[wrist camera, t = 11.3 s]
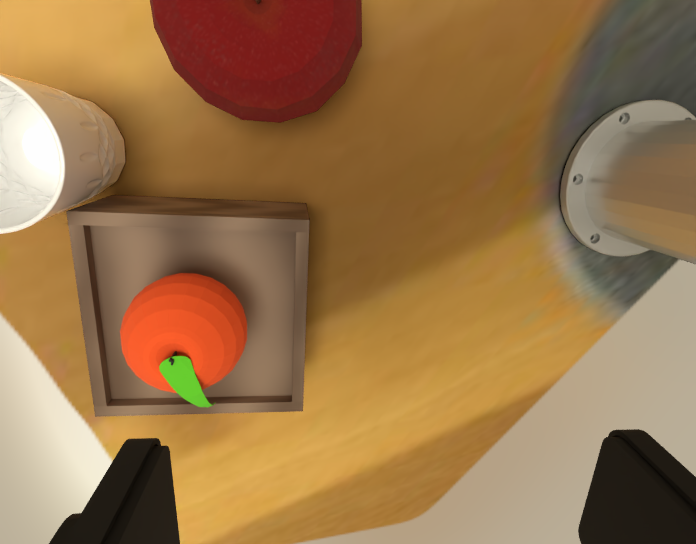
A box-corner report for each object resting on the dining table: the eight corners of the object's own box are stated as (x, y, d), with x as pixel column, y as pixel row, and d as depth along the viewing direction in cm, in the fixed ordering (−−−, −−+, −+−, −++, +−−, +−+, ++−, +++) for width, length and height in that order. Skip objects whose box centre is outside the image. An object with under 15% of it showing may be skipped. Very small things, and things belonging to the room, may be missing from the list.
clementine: (273, 347, 30) (269, 409, 23) (179, 382, 29) (147, 454, 23) (226, 243, 27) (207, 279, 20) (123, 280, 27) (68, 328, 20)
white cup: (138, 206, 31) (72, 238, 22) (21, 199, 30) (-102, 229, 21) (131, 92, 29) (54, 72, 20) (4, 79, 28) (-143, 51, 18)
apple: (149, 28, 28) (56, -40, 17) (265, -95, 27) (246, -255, 16) (268, 156, 31) (256, 169, 20) (376, 52, 30) (425, 6, 19)
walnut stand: (305, 203, 33) (309, 220, 26) (300, 363, 37) (302, 411, 31) (113, 195, 31) (66, 211, 24) (131, 364, 35) (95, 416, 29)
